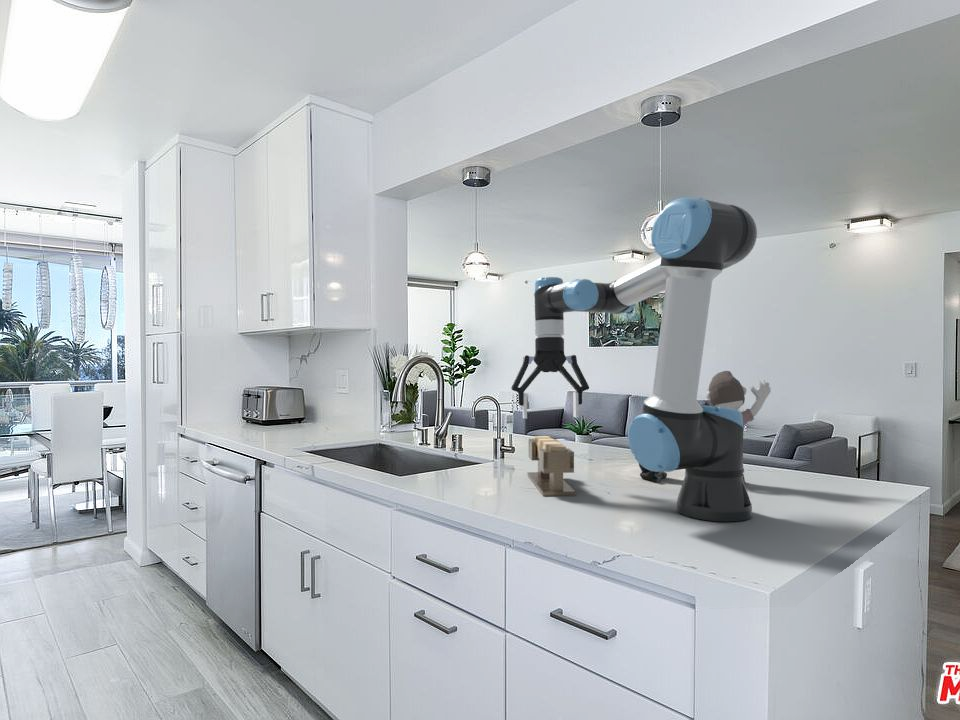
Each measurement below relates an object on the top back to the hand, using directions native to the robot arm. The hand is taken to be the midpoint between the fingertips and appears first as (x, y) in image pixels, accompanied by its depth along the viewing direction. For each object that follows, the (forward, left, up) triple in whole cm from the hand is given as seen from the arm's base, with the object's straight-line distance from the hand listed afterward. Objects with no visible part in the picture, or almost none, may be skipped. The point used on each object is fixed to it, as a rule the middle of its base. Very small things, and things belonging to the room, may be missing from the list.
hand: (550, 417), depth 160 cm
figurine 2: (-1, -50, -18) cm, 53 cm away
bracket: (0, 0, -18) cm, 18 cm away
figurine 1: (+5, -30, -18) cm, 35 cm away
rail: (+1, 0, -11) cm, 11 cm away
